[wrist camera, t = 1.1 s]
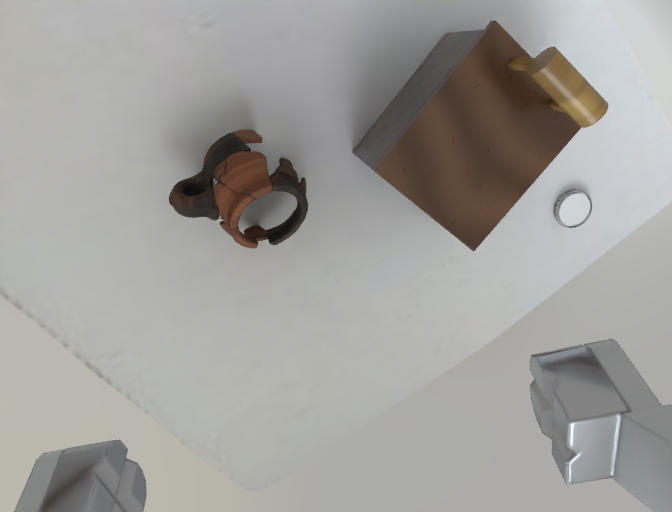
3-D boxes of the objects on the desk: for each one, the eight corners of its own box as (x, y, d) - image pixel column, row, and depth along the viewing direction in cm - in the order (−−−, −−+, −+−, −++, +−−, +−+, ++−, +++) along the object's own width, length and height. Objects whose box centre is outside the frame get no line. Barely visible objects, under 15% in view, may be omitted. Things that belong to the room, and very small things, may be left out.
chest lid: (491, 20, 44) (535, 15, 37) (584, 116, 48) (639, 127, 41) (371, 169, 46) (394, 188, 40) (470, 248, 50) (505, 278, 44)
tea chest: (446, 32, 52) (484, 29, 44) (529, 114, 56) (577, 124, 48) (352, 152, 54) (371, 169, 46) (438, 222, 58) (470, 248, 50)
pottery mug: (282, 113, 52) (319, 164, 47) (282, 192, 59) (314, 244, 54) (151, 138, 48) (175, 197, 43) (167, 220, 55) (190, 279, 50)
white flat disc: (594, 210, 60) (598, 212, 60) (564, 233, 61) (567, 235, 60) (578, 182, 59) (581, 183, 58) (547, 205, 59) (550, 207, 59)
